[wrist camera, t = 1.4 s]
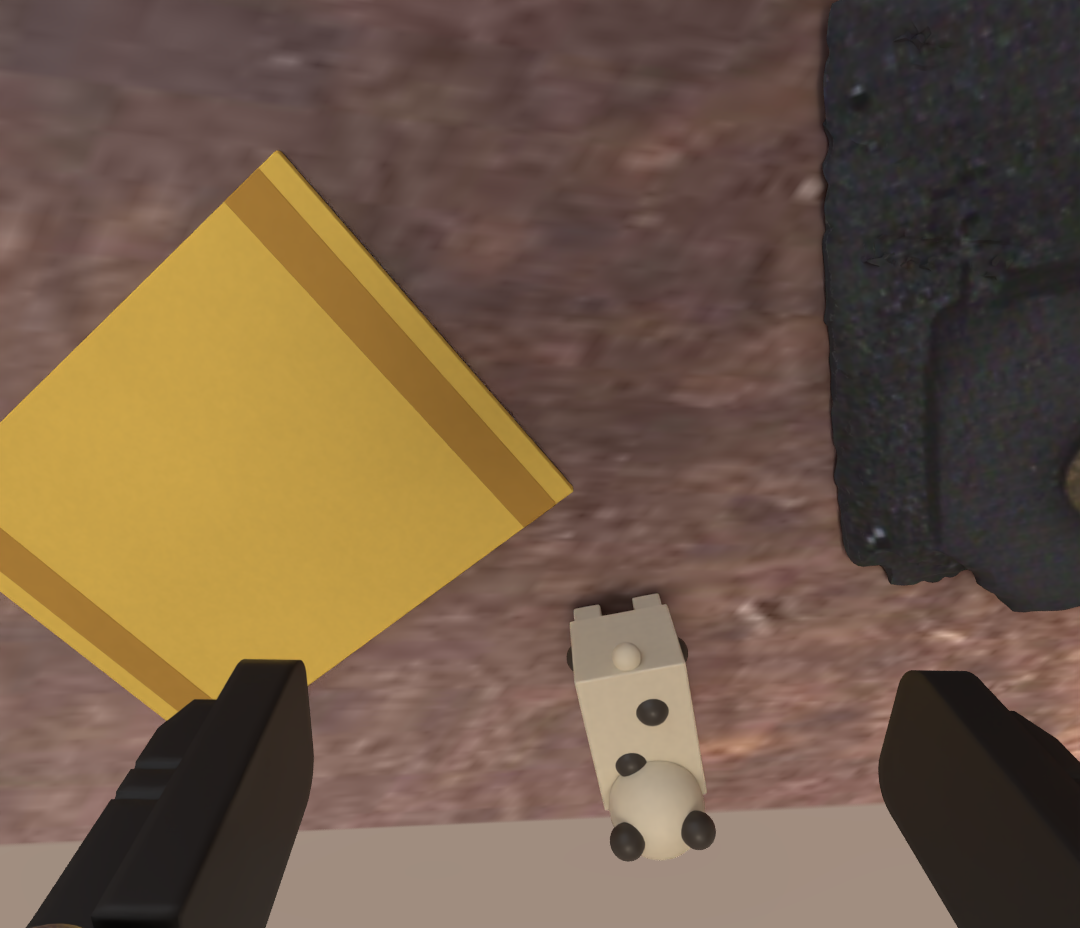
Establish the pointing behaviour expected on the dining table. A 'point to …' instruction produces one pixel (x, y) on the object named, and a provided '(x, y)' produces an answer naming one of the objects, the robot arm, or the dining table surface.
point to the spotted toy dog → (641, 728)
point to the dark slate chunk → (956, 290)
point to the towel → (255, 459)
